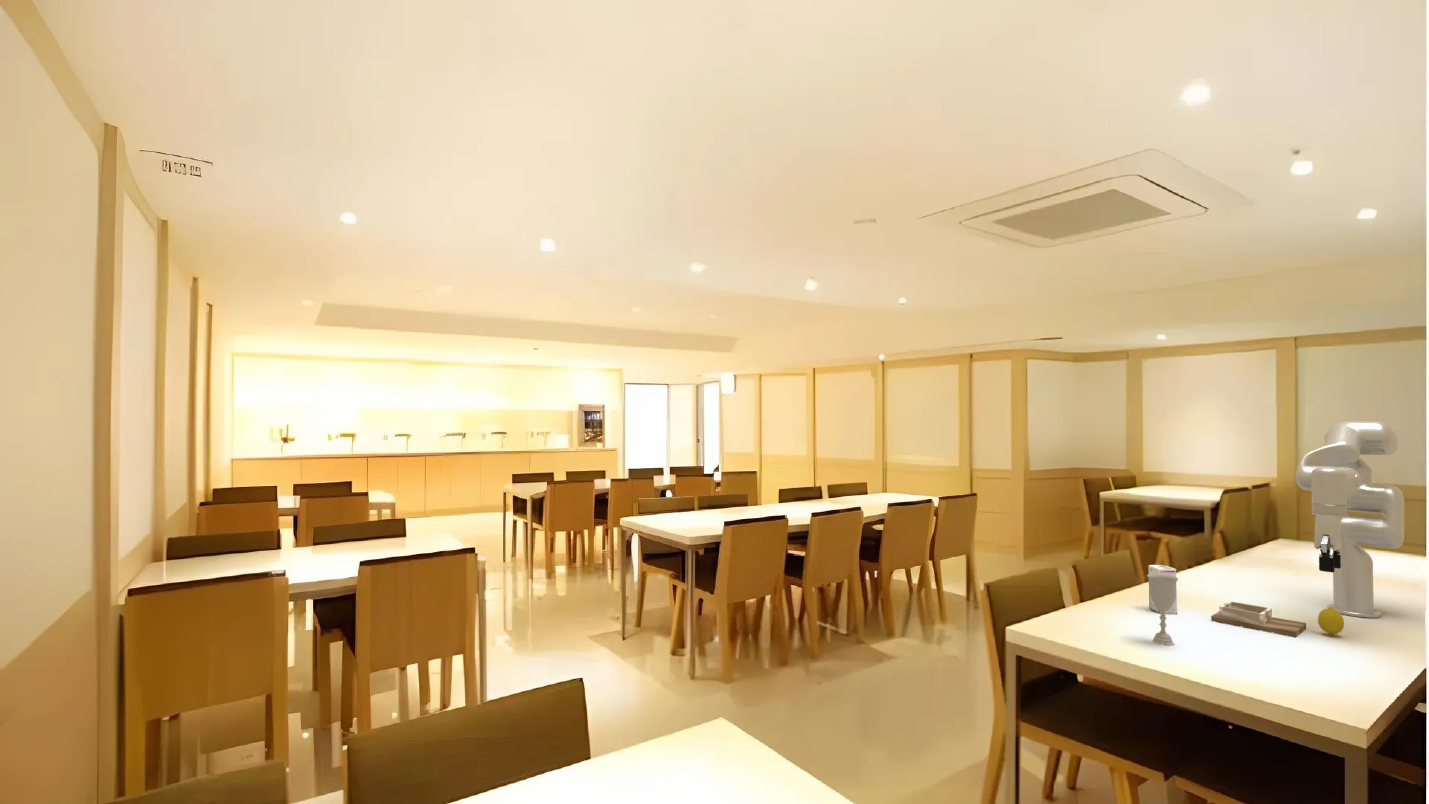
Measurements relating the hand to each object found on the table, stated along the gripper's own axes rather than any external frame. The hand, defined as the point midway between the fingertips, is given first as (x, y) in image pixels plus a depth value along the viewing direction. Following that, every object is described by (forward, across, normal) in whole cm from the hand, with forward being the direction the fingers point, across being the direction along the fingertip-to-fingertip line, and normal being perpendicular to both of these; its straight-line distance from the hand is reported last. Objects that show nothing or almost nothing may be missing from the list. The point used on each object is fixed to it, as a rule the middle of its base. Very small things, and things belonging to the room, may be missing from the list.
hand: (1330, 569), depth 194 cm
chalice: (+20, +47, -28) cm, 58 cm away
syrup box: (+19, +11, -39) cm, 45 cm away
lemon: (+19, 0, 0) cm, 19 cm away
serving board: (+19, +4, -16) cm, 25 cm away
